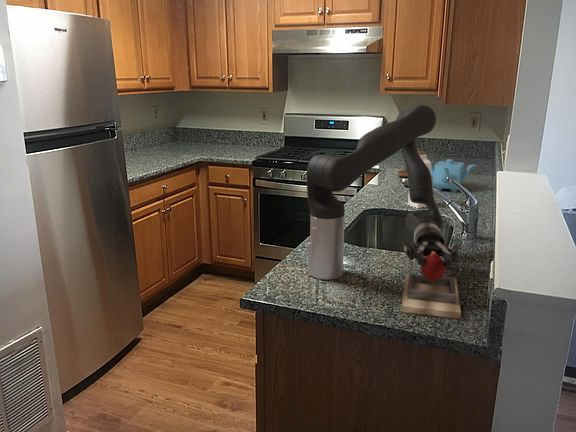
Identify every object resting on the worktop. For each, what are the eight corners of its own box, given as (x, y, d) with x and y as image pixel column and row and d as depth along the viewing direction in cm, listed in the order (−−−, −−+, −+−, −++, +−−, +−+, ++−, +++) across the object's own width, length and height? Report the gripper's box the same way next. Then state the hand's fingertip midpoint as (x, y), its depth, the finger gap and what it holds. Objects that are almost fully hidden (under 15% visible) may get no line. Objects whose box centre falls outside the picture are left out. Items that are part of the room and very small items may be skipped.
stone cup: (424, 175, 270) (426, 148, 266) (426, 179, 258) (428, 151, 254) (396, 174, 272) (398, 148, 268) (397, 178, 261) (399, 151, 257)
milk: (407, 205, 205) (410, 154, 199) (418, 204, 208) (421, 153, 202) (418, 208, 200) (421, 156, 194) (428, 206, 203) (432, 155, 197)
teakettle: (451, 184, 246) (453, 155, 242) (476, 191, 229) (479, 161, 225) (419, 187, 240) (421, 158, 236) (443, 195, 223) (445, 163, 219)
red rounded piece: (439, 276, 122) (442, 246, 119) (447, 286, 116) (450, 255, 114) (417, 277, 121) (418, 247, 119) (424, 287, 116) (426, 256, 113)
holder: (401, 311, 112) (402, 298, 111) (405, 278, 130) (406, 266, 129) (460, 318, 109) (461, 304, 108) (455, 283, 127) (456, 271, 126)
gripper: (402, 225, 131) (405, 246, 115) (457, 227, 128) (468, 250, 112) (400, 250, 133) (403, 275, 117) (455, 253, 130) (465, 279, 114)
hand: (435, 263), depth 115 cm, fingers closed on red rounded piece, 5 cm apart
